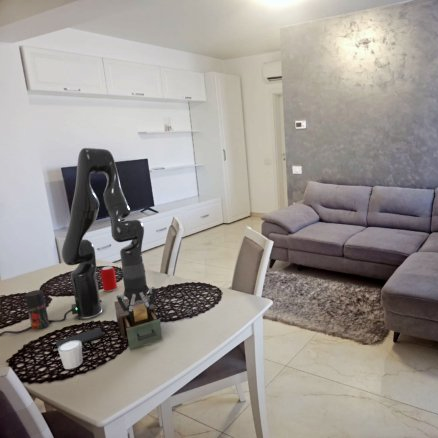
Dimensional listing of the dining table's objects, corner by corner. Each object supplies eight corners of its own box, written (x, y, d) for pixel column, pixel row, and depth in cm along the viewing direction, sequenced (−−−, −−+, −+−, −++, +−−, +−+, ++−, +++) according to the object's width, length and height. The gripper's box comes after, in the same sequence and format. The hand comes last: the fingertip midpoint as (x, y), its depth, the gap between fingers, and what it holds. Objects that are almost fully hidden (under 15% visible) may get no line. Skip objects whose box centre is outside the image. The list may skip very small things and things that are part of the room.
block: (135, 321, 132) (133, 310, 131) (132, 317, 135) (131, 306, 134) (147, 318, 134) (146, 307, 133) (145, 313, 138) (143, 303, 137)
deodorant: (52, 324, 150) (46, 290, 146) (38, 331, 144) (31, 296, 141) (42, 322, 152) (35, 289, 148) (28, 329, 146) (21, 295, 143)
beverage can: (119, 288, 184) (116, 266, 181) (108, 293, 179) (104, 270, 176) (112, 286, 187) (109, 264, 184) (101, 291, 182) (97, 268, 179)
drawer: (165, 344, 130) (163, 324, 129) (131, 355, 124) (128, 335, 123) (153, 323, 146) (151, 305, 144) (123, 332, 140) (120, 314, 138)
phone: (55, 341, 135) (99, 327, 144) (55, 343, 135) (99, 329, 144) (58, 350, 129) (103, 334, 138) (59, 352, 129) (104, 336, 139)
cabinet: (157, 329, 143) (155, 307, 141) (123, 339, 136) (120, 316, 134) (149, 314, 155) (146, 293, 153) (117, 323, 149) (114, 301, 147)
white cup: (68, 358, 125) (64, 340, 124) (88, 357, 126) (85, 339, 124) (57, 371, 118) (53, 352, 117) (78, 369, 119) (75, 350, 117)
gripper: (152, 267, 138) (157, 308, 142) (111, 275, 130) (117, 319, 134) (156, 272, 132) (162, 315, 135) (114, 282, 124) (121, 327, 128)
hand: (140, 317), depth 135 cm, fingers closed on block, 4 cm apart
